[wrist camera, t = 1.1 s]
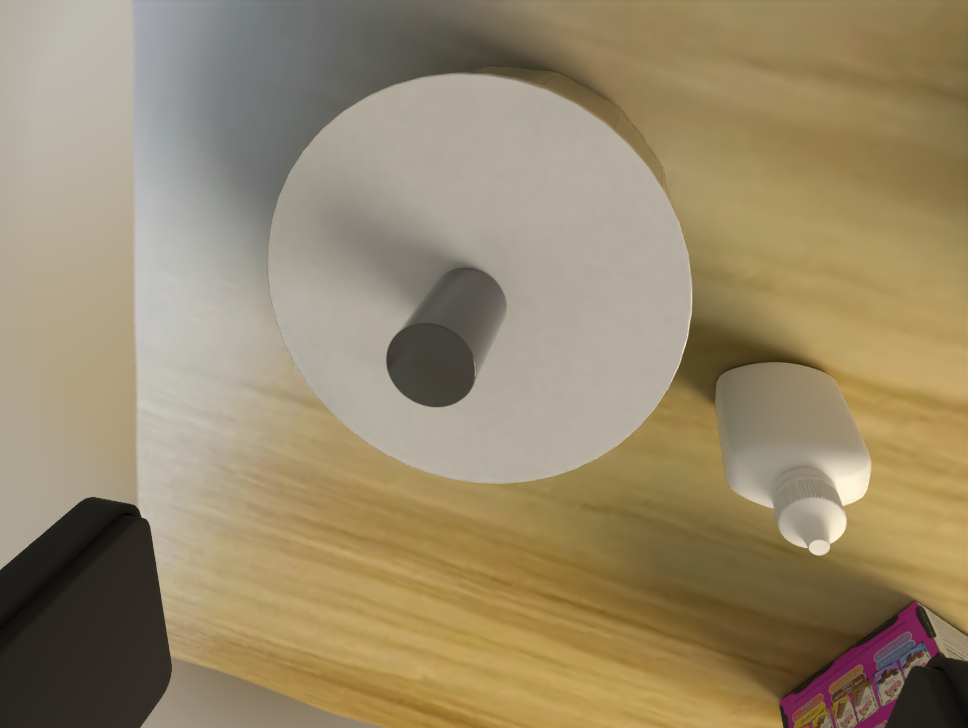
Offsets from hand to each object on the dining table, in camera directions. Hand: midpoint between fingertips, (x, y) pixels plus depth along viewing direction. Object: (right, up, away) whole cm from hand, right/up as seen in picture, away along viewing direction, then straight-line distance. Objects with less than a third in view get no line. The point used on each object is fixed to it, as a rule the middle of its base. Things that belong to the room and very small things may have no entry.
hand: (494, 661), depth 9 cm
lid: (-1, +6, +20) cm, 21 cm away
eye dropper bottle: (+14, +2, +28) cm, 32 cm away
